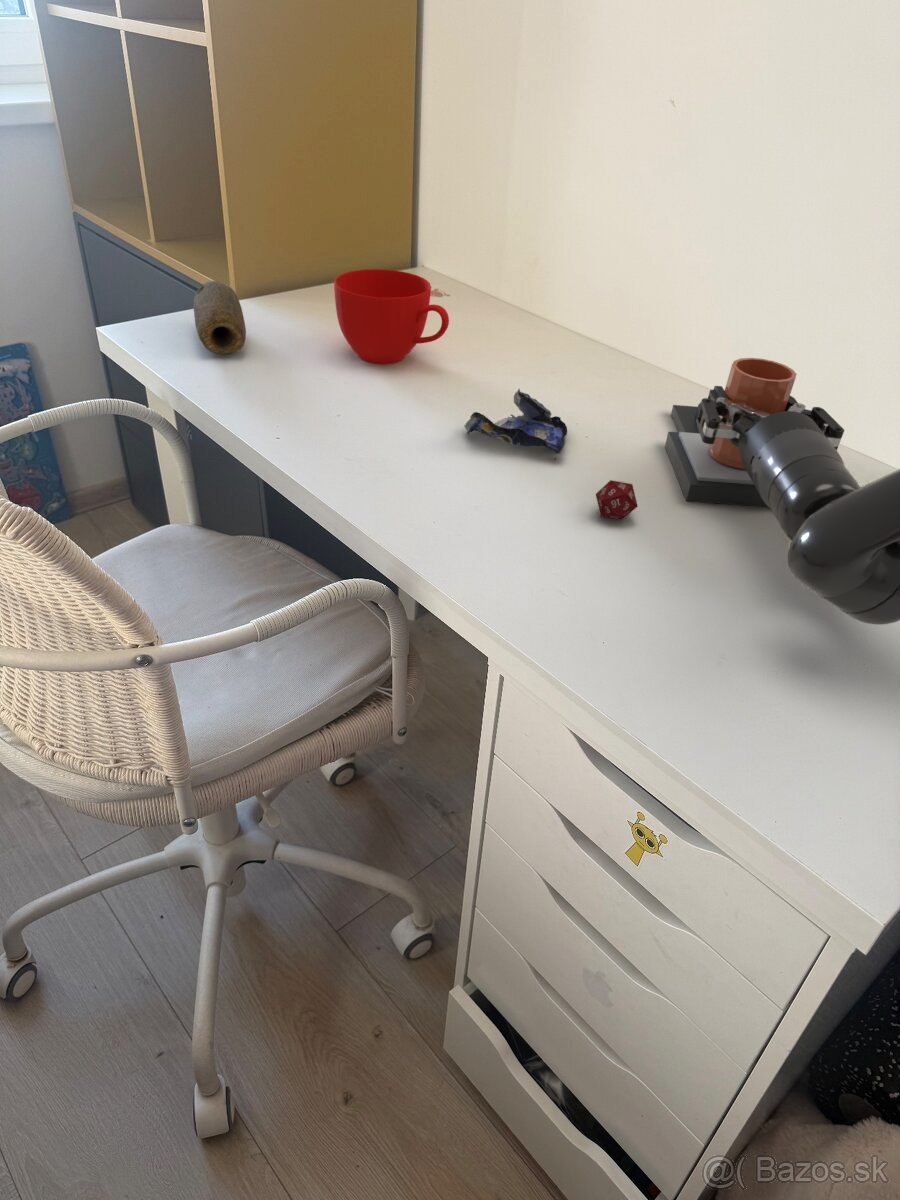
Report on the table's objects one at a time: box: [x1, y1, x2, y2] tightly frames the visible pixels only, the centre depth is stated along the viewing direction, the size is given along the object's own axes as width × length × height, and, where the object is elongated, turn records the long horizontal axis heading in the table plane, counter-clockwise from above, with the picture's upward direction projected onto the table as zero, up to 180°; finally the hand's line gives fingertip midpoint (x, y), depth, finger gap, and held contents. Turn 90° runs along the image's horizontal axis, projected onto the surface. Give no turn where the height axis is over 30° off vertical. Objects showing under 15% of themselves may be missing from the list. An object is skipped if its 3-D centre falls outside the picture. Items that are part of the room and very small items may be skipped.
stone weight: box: [193, 280, 247, 355], centre depth 115 cm, size 15×7×7 cm, turn 20°
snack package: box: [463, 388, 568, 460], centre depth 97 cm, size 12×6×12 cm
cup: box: [708, 357, 798, 469], centre depth 90 cm, size 6×6×10 cm
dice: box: [595, 479, 639, 521], centre depth 84 cm, size 4×4×4 cm
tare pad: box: [670, 402, 701, 433], centre depth 103 cm, size 10×8×3 cm
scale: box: [664, 431, 769, 508], centre depth 94 cm, size 13×13×2 cm
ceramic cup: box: [333, 268, 450, 365], centre depth 113 cm, size 13×17×10 cm
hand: (747, 396), depth 91 cm, fingers closed on cup, 6 cm apart
